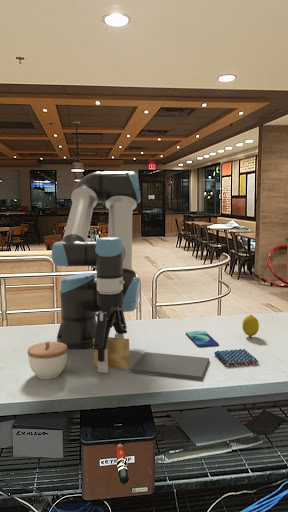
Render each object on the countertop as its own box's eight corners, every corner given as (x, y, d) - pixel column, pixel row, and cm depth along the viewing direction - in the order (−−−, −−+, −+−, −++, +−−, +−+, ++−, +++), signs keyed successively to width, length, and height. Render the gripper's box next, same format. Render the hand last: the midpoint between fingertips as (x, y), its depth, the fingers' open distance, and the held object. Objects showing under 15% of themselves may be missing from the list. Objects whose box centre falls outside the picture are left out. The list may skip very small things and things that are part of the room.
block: (94, 365, 124) (93, 339, 123) (98, 362, 127) (97, 336, 126) (126, 369, 122) (125, 342, 121) (129, 365, 124) (129, 338, 123)
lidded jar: (70, 366, 124) (69, 335, 122) (64, 382, 113) (63, 348, 112) (33, 367, 123) (32, 336, 122) (24, 383, 113) (22, 349, 112)
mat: (130, 372, 119) (130, 368, 119) (145, 355, 132) (145, 352, 132) (201, 380, 113) (201, 376, 113) (209, 361, 127) (209, 358, 126)
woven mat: (260, 366, 124) (260, 359, 123) (225, 369, 122) (225, 362, 121) (245, 353, 134) (245, 347, 134) (213, 356, 132) (213, 350, 132)
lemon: (239, 335, 150) (239, 313, 149) (251, 333, 152) (252, 312, 151) (248, 340, 145) (249, 317, 144) (262, 338, 147) (262, 315, 146)
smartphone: (197, 346, 139) (184, 332, 153) (197, 349, 139) (184, 334, 153) (219, 344, 140) (205, 330, 155) (219, 347, 140) (205, 333, 155)
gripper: (105, 301, 109) (107, 381, 111) (136, 283, 132) (137, 349, 135) (79, 300, 111) (81, 378, 114) (113, 282, 135) (114, 347, 137)
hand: (111, 362), depth 124 cm, fingers open, 13 cm apart
